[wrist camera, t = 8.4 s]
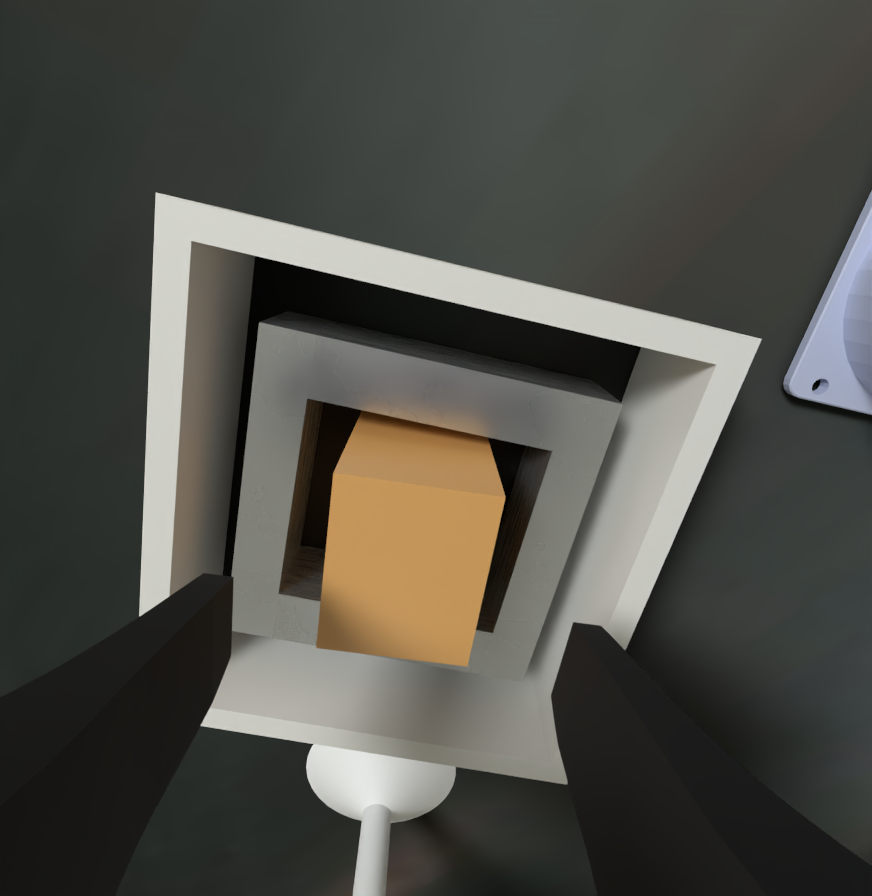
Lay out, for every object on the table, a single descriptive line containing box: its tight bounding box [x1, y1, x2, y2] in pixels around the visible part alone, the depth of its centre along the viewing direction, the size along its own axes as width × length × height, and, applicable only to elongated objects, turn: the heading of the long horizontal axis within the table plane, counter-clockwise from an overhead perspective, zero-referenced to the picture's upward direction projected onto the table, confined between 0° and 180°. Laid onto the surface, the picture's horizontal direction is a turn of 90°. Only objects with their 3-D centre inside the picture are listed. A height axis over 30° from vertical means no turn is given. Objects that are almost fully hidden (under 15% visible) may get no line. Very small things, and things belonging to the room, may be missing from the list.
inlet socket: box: [231, 311, 623, 682], centre depth 17 cm, size 10×10×3 cm
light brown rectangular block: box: [316, 410, 506, 667], centre depth 16 cm, size 4×5×6 cm
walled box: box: [139, 193, 762, 785], centre depth 16 cm, size 14×15×4 cm
